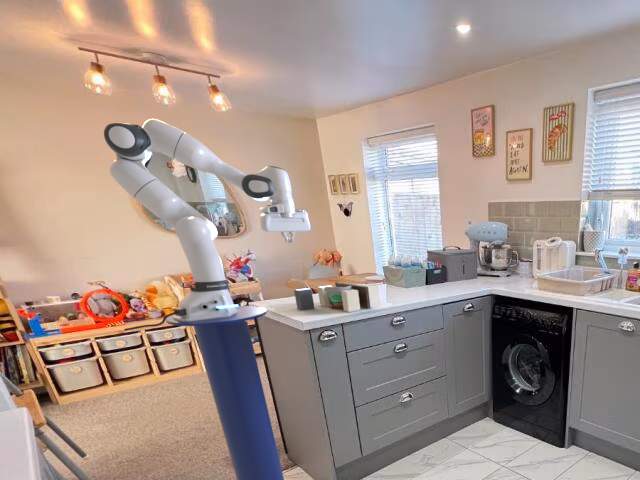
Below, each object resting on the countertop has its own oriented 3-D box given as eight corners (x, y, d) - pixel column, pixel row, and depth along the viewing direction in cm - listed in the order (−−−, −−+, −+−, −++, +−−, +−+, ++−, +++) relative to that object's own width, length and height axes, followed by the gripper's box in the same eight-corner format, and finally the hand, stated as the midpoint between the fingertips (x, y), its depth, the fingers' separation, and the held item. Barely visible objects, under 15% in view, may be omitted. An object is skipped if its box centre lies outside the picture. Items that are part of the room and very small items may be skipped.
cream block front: (349, 312, 186) (346, 291, 182) (343, 310, 188) (340, 290, 184) (360, 309, 190) (357, 290, 187) (355, 308, 192) (352, 289, 189)
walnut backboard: (367, 308, 193) (365, 287, 189) (338, 302, 206) (335, 282, 202) (370, 308, 194) (368, 286, 190) (340, 302, 207) (337, 282, 203)
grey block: (302, 310, 188) (298, 290, 184) (297, 309, 190) (293, 289, 187) (314, 308, 192) (311, 289, 189) (309, 307, 194) (306, 288, 191)
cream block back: (325, 306, 196) (322, 287, 192) (320, 306, 198) (317, 287, 195) (336, 305, 200) (333, 286, 197) (331, 304, 202) (328, 285, 199)
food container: (326, 310, 188) (323, 288, 185) (326, 307, 194) (323, 286, 190) (355, 308, 193) (352, 287, 189) (354, 306, 198) (352, 284, 194)
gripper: (302, 209, 187) (308, 241, 192) (255, 208, 171) (262, 243, 177) (310, 209, 184) (315, 242, 189) (262, 208, 168) (270, 243, 173)
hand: (289, 242), depth 182 cm, fingers closed
